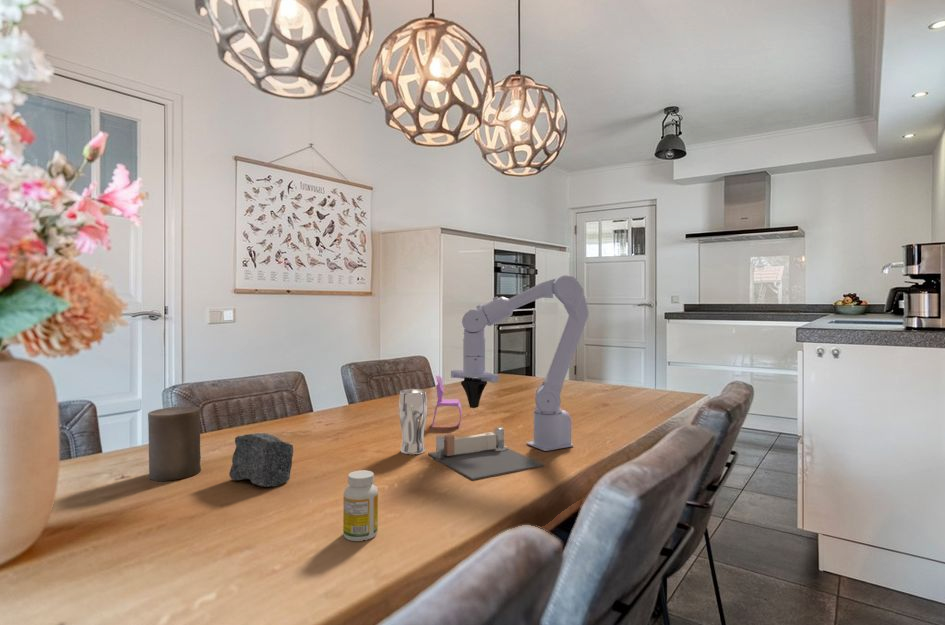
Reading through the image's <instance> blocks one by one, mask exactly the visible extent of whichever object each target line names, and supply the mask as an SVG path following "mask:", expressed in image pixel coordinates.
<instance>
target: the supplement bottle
mask: <svg viewBox="0 0 945 625" xmlns="http://www.w3.org/2000/svg"><path fill="white" fill-rule="evenodd" d="M374 474H375V473H374V472H373V471H371V470H363V469H362V470H361V469H360V470H355V471H351V472H349V474H348V475H347V478H348V479H347V483H348V486H347V487H346V488H345V489H344V491H343V517H342V518H343V520H342V521H343V529H342V530H343V533H342V534H343V537H344V538H345V539H346V540H348V541H351V542H364V541H363V540H365V541H368V539H369V540H370V539H373V538H374V537H375V536H376V535H377V534H378V526H379V525H378V524H379V523H378V520H379V518H378V516H379V514H378V512H379V489H378V487H377V486H376V485H374V481H375V475H374Z"/></svg>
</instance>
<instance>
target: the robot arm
mask: <svg viewBox="0 0 945 625" xmlns="http://www.w3.org/2000/svg"><path fill="white" fill-rule="evenodd" d="M584 291H585V290H584V288H583V286H582V285H581V284H580V282H579V281H578V280H577V278H576V277H574V276H572V275H566V274H565V275H562V276H560V277H558V278H557V279H556V278H553V279H549V280H546V281H543V282H541V283H538V284H536V285H534V286H532V287H531V288H529V289H526V290H524V291H522V292H520V293H517V294H516V295H513V296H512V297H510V298H507V297H505V296H500V297H498V296H494V297H492V300H491V301H489V302H487V303H485V304H483V305H480V304H478V305H477V306H475V307H476V309H469V310H468V311H467V312H465V313H464V315H463V316H462V320H461V323H462V327H463V339H462V342H463V344H462V346H463V349H462V350H463V353H462V354H463V358H462V359H463V365H462V366H463V367H462V368H463V370H461V369H460V370H459V369H453V370H450V378H451V379H452V378H453V379H454V378H455V379H464V380H462V381H460V385H461V386H462V388H463V389H464V392H465V395H466V397H467V402H468V405H469V408H470V409H477V408H478V407H479V406H480V401H481V397H482V394H483V392H484V390H485V387H486V386H487V384H488V382H489V383H494V384H495V383H496V384H497V383H499V382H500V381H499V380H500V377H499V376H500V375H499V374H496V373H491V372H487V371H486V337H485V328H486V327H487V326H488V327H491V326H493V325H495V324H498V323H500V322H503V321H504V320H506V319H508V318H510V317H512V315H513V312H514V310H515V309H518V308H520V307H523V306H526V305H527V304H530V303H532V302H534V301H537V300H539V299H543V298H544V299H545V298H546V299H553V298H554V296H555V298H557V299H558V300H559V301H560V303H562V305H563V307H564V309H565V310H566V313H567V314H568V317H567V319H566V323H565V325H564V328H563V330H562V333H561V336H560V339H559V342H558V343H557V347H556V349H555V352H554V354H553V358H552V360H551V363H550V365H549V368H548V371H547V372H546V375H545V377H544V380H543V382H542V383H541V384H540V385H539V386H538V387H537V389H536V391H535V406H536V407H534V409H533V440H531V441H527V442H526V445H529V446H531V447H533V448H535V449H539V450H541V451H543V452H548V451H554V450H559V449H565V448H570V447H574V444H573V443H572V418H571V416H570V413H569V412H568V411H566V410H565V409H564V410H563V409H562V408H561V407H560V406H561V402H562V400H561V393H562V389H563V386H564V382H565V378H566V376H567V374H568V371H569V368H570V365H571V362H572V360H573V358H574V355H575V352H576V349H577V347H578V344H579V342H580V339H581V336H582V333H583V330H584V328H585V326H586V324H587V323H586V322H587V320H588V318H589V314H590V313H589V310H588V306H587V301H586V297H585V293H584Z"/></svg>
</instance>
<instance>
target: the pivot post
mask: <svg viewBox="0 0 945 625" xmlns="http://www.w3.org/2000/svg"><path fill="white" fill-rule="evenodd" d="M493 433H494V434H496V449H491V450H493V451H506V450H508V449H509V447H508V445H505V428H504V427H501V426H500V427H499V426H498V427H494V432H493Z"/></svg>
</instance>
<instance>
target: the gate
mask: <svg viewBox="0 0 945 625" xmlns="http://www.w3.org/2000/svg"><path fill="white" fill-rule="evenodd" d="M443 436H444V437H445V455H447V456H450V455H456V454H462V453H468V452H474V451H480V450H486V449H487V450H490V449H496V434H494V432H491V431H490V432H483V433H480V434H473V435H472V434H471V435H465V436H459V437H455V435H453V434H452V433H448V434H443Z"/></svg>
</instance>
